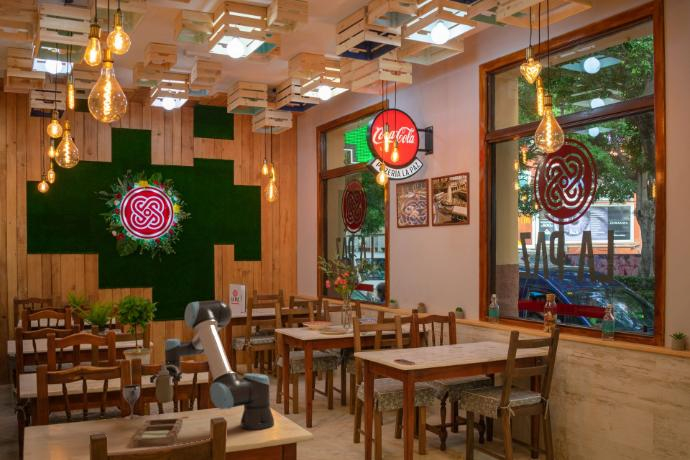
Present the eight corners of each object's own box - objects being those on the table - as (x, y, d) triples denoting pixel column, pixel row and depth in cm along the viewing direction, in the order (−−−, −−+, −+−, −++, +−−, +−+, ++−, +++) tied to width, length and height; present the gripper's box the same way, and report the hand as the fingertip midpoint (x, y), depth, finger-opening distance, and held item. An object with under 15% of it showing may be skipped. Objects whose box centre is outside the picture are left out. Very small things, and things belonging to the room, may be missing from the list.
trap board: (146, 426, 300) (146, 419, 300) (182, 424, 302) (182, 417, 302) (132, 447, 268) (132, 439, 268) (172, 444, 270) (172, 436, 270)
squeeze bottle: (168, 404, 301) (167, 364, 301) (152, 403, 302) (151, 364, 303) (176, 400, 309) (175, 361, 309) (160, 399, 310) (160, 361, 311)
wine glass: (133, 414, 324) (133, 384, 325) (144, 416, 320) (143, 385, 320) (120, 418, 318) (119, 387, 318) (130, 420, 313) (129, 388, 314)
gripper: (190, 380, 325) (184, 389, 302) (149, 382, 322) (140, 391, 299) (189, 364, 325) (183, 373, 302) (149, 366, 323) (140, 375, 300)
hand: (162, 382), depth 301 cm, fingers closed on squeeze bottle, 6 cm apart
